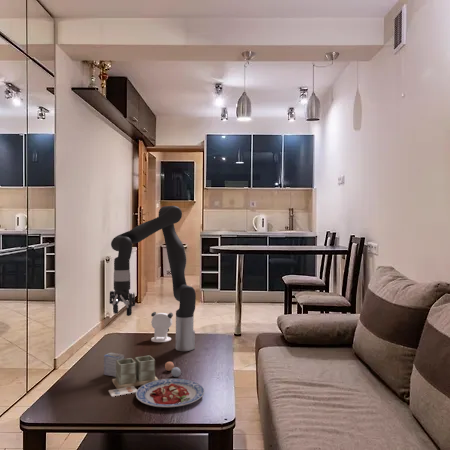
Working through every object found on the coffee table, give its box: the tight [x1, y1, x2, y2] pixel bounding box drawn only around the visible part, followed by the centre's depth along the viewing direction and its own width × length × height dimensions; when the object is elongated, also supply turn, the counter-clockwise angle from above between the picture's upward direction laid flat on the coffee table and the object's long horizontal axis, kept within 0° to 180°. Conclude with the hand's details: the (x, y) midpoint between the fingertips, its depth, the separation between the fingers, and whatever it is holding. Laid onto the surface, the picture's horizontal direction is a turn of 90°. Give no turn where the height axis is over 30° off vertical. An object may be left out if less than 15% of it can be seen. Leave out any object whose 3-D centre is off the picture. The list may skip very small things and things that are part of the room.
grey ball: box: [170, 366, 182, 378], centre depth 179 cm, size 4×4×4 cm
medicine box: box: [103, 352, 125, 378], centre depth 180 cm, size 8×4×9 cm, turn 65°
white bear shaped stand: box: [150, 311, 174, 343], centre depth 235 cm, size 12×11×15 cm
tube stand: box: [111, 355, 159, 389], centre depth 173 cm, size 17×9×9 cm, turn 117°
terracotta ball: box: [164, 361, 175, 372], centre depth 186 cm, size 4×4×4 cm
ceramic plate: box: [135, 378, 205, 408], centre depth 158 cm, size 26×26×3 cm
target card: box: [108, 386, 138, 398], centre depth 162 cm, size 10×6×1 cm, turn 117°
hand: (122, 314), depth 193 cm, fingers open, 8 cm apart
